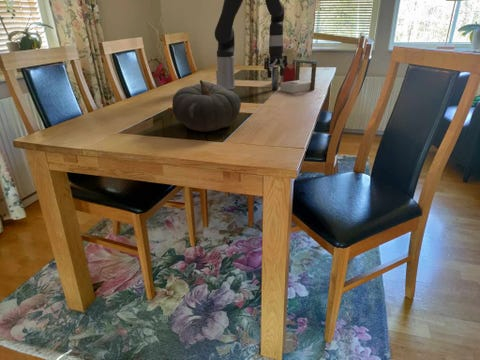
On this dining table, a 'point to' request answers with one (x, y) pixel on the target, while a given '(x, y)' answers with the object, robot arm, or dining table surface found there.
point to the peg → (275, 78)
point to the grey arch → (313, 72)
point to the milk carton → (289, 67)
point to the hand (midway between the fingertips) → (275, 76)
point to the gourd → (206, 106)
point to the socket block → (295, 86)
